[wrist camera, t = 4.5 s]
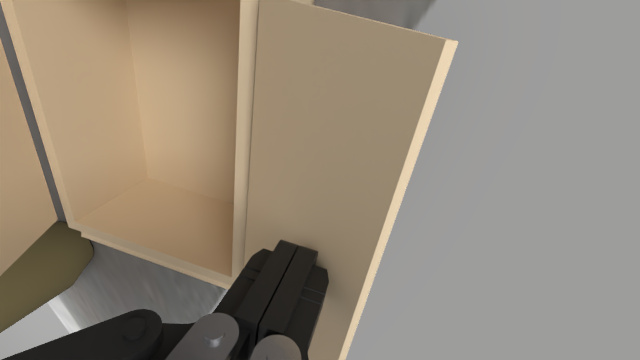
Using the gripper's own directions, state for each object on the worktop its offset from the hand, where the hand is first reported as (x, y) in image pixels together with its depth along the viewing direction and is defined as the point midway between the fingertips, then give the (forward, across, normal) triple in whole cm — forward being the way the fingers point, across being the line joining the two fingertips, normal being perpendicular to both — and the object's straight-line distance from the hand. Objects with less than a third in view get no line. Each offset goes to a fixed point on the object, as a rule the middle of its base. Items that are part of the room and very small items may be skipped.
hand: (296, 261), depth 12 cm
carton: (+13, +12, 0) cm, 18 cm away
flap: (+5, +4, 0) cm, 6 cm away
